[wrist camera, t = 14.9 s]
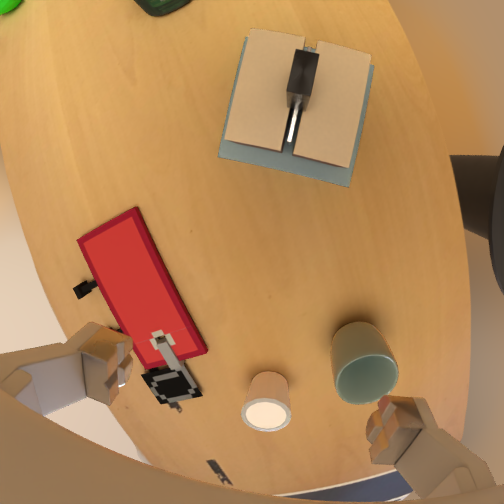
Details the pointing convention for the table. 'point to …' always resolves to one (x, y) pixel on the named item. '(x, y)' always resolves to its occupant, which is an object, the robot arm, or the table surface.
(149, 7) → the coffee jar
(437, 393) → the table surface
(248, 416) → the pale pink cylinder
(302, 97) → the knife
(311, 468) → the table surface
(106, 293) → the red board with handle
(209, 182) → the table surface
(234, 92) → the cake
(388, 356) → the cup
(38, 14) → the table surface
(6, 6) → the plastic bottle
